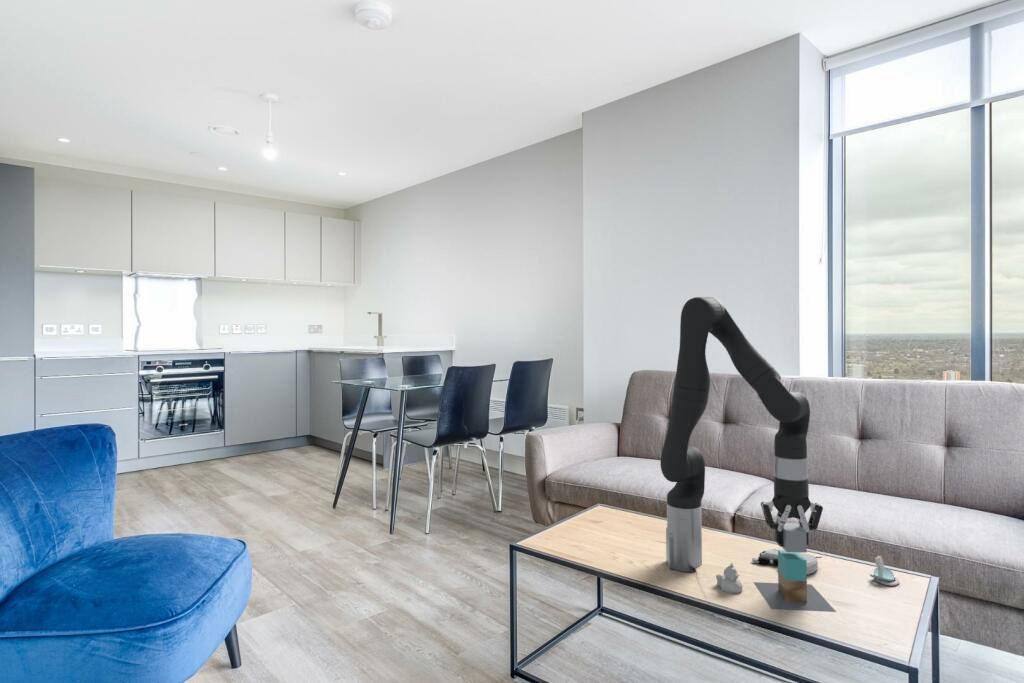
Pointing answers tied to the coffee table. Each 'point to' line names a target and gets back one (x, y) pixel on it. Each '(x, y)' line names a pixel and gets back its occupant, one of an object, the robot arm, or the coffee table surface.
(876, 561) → the pacifier
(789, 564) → the teal brick
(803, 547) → the grey brick
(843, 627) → the coffee table surface
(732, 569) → the rubber duck
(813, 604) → the base plate
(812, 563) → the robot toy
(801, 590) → the base brick
